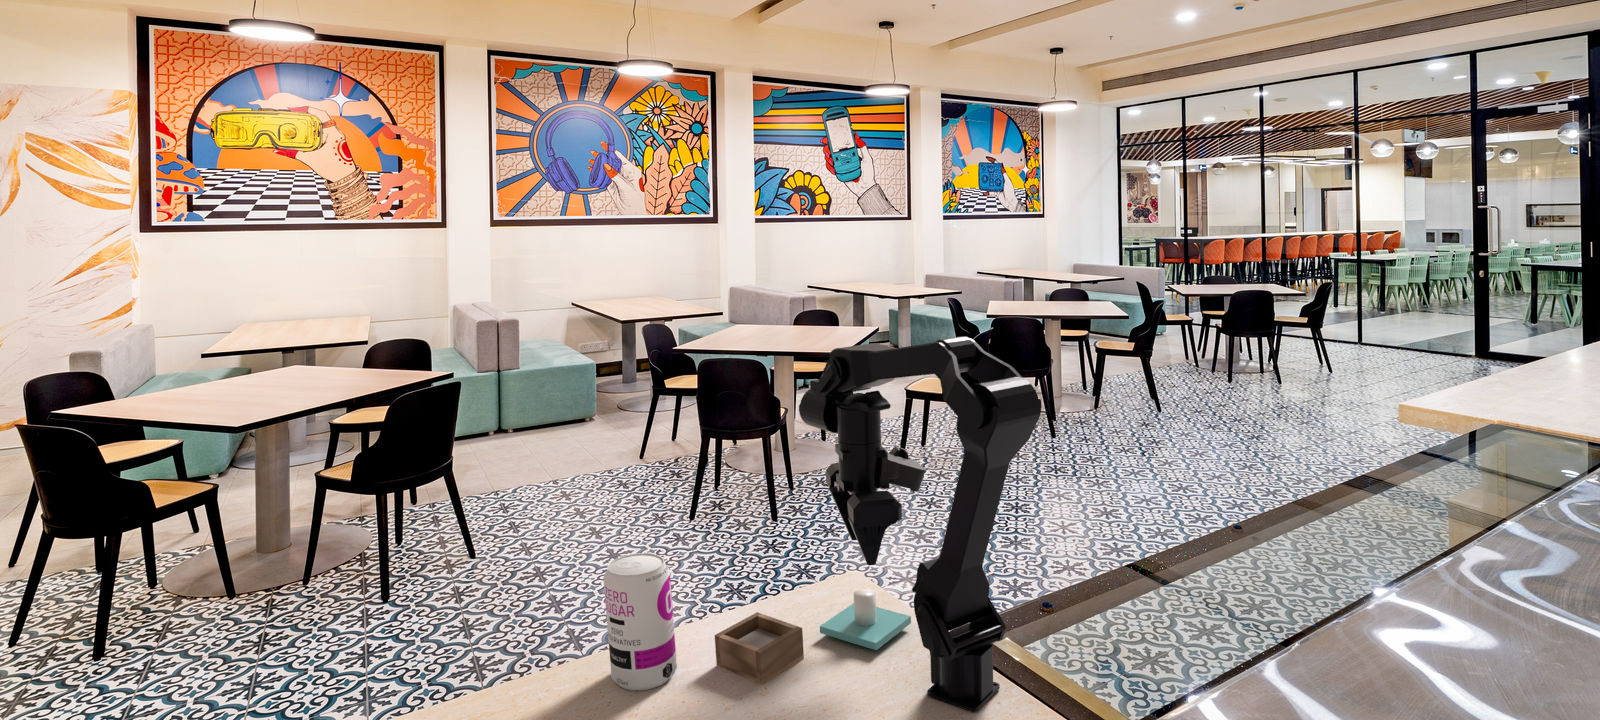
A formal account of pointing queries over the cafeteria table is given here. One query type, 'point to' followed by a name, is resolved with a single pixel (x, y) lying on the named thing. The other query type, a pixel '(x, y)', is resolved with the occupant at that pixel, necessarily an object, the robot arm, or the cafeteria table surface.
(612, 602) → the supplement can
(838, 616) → the lid
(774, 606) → the cafeteria table surface
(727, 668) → the box
